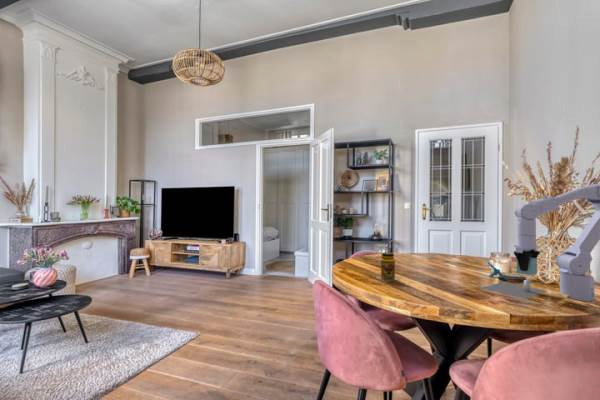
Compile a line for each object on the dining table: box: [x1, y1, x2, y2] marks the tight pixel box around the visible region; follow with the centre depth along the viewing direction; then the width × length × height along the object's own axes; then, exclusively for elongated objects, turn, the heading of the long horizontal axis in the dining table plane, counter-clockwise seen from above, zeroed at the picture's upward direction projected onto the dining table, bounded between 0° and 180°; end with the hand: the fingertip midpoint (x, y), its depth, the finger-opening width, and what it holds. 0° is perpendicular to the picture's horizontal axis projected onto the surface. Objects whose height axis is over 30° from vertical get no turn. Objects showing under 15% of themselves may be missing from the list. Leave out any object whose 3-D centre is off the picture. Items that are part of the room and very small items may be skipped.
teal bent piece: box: [487, 262, 508, 280], centre depth 142 cm, size 11×6×10 cm
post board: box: [480, 279, 546, 300], centre depth 121 cm, size 16×18×5 cm
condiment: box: [374, 252, 400, 282], centre depth 142 cm, size 7×8×12 cm
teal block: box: [516, 257, 538, 276], centre depth 119 cm, size 5×5×6 cm
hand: (526, 269), depth 118 cm, fingers closed on teal block, 5 cm apart
